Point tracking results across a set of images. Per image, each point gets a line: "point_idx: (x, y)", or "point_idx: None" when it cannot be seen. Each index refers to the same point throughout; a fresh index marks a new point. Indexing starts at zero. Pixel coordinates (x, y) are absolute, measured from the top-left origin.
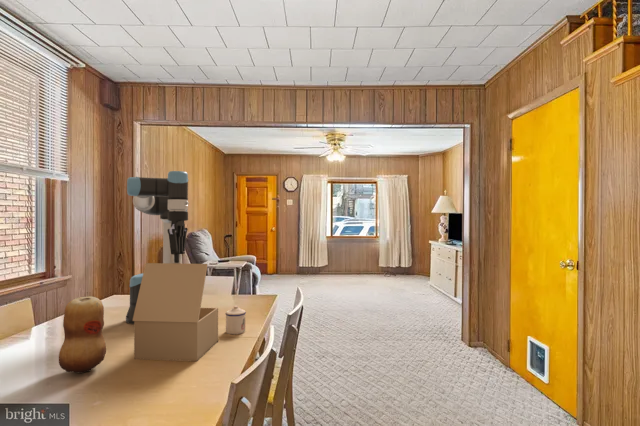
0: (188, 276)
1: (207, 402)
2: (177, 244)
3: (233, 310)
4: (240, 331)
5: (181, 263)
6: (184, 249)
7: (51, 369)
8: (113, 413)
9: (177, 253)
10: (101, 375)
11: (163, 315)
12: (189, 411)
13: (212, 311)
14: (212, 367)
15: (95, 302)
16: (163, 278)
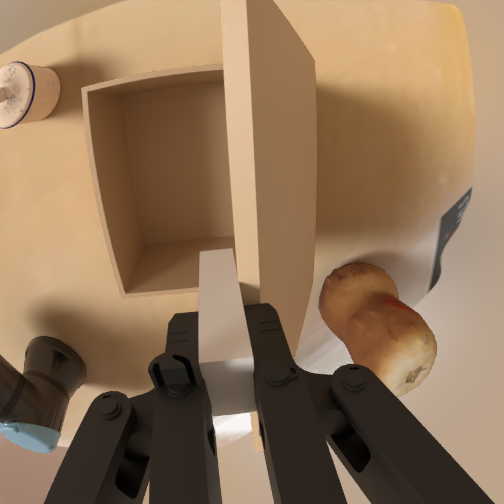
0: (284, 139)
1: (432, 19)
2: (339, 493)
3: (14, 91)
4: (50, 69)
5: (214, 286)
6: (104, 415)
7: None
8: (464, 141)
9: (304, 378)
10: (361, 240)
11: (314, 193)
12: (453, 41)
13: (137, 77)
14: (307, 31)
15: (427, 346)
16: (288, 304)
